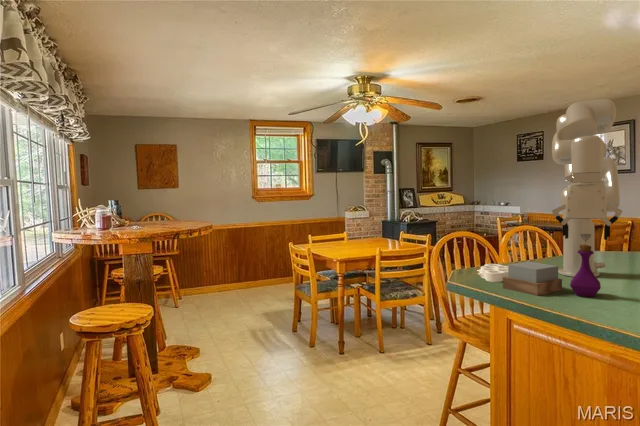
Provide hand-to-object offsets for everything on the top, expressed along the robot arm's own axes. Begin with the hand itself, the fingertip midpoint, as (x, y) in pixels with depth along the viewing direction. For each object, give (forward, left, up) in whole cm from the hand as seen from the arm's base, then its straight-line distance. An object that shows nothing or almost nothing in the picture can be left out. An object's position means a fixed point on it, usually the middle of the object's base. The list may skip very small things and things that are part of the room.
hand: (585, 238), depth 126 cm
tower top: (+8, -12, -13) cm, 19 cm away
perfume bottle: (0, 0, -17) cm, 17 cm away
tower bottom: (+9, -12, -17) cm, 22 cm away
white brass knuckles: (+7, -31, -17) cm, 36 cm away
